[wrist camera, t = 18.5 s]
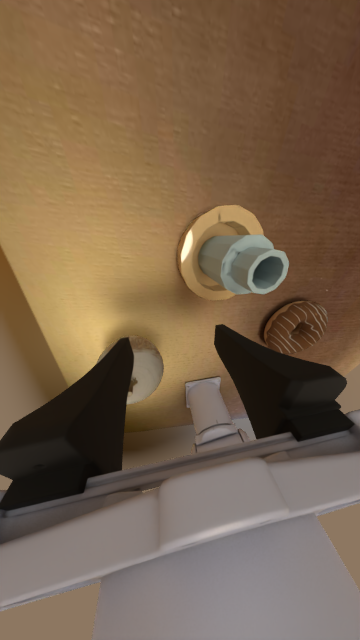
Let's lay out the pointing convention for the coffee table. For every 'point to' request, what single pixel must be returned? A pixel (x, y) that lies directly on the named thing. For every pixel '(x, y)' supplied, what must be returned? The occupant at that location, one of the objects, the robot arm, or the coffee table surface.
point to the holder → (201, 230)
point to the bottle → (243, 263)
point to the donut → (295, 327)
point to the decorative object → (142, 368)
